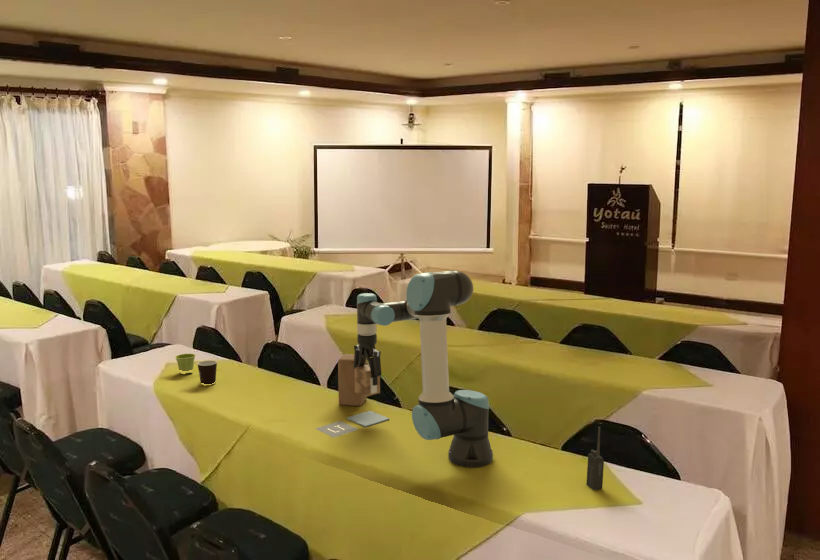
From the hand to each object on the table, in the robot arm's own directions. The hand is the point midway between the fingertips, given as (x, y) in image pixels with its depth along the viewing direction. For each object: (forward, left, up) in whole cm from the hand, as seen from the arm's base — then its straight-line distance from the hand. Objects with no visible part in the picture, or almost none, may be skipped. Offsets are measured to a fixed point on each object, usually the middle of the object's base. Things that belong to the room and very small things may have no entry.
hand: (367, 390), depth 261 cm
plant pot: (+108, +26, -12) cm, 111 cm away
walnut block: (0, 0, -1) cm, 1 cm away
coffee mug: (+86, +25, -12) cm, 90 cm away
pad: (0, 0, -12) cm, 12 cm away
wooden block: (+20, -8, -12) cm, 25 cm away
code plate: (0, +15, -12) cm, 19 cm away
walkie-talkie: (-92, -16, -12) cm, 94 cm away
